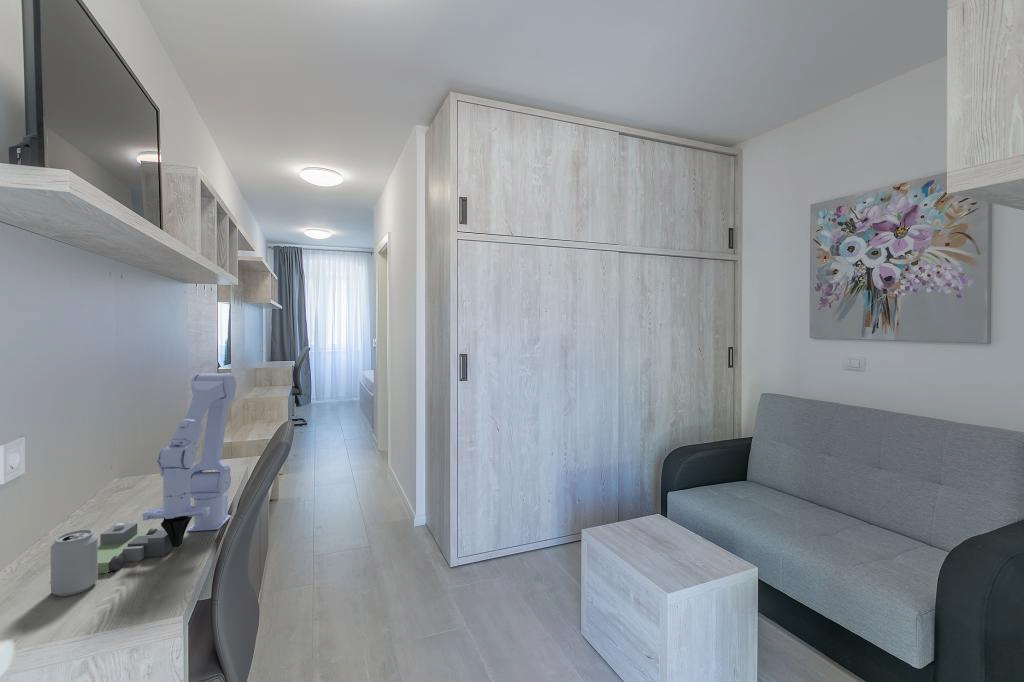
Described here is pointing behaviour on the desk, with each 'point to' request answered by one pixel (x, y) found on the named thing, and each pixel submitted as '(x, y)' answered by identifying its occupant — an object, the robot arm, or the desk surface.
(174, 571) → the desk surface
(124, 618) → the desk surface
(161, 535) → the grey rectangular box
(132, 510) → the desk surface
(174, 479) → the robot arm
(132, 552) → the deck
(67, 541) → the can
